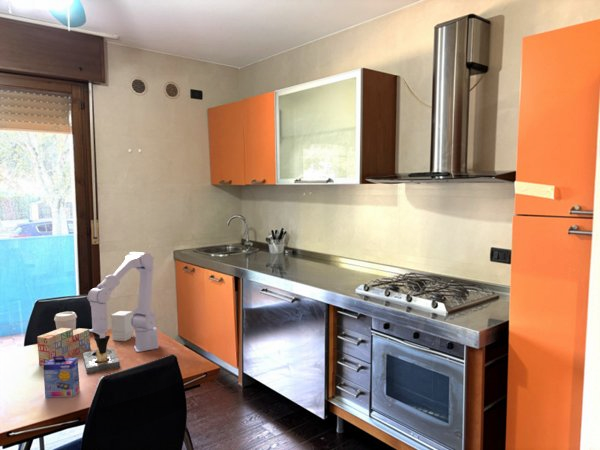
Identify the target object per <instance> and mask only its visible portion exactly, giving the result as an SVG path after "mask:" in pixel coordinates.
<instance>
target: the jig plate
mask: <svg viewBox="0 0 600 450" xmlns="http://www.w3.org/2000/svg"><path fill="white" fill-rule="evenodd" d="M106 349H107V359H108V362H105V363H100V364H99V363H97V355H96V350H91V351H84V352H82V359H83V363H84V367H85V371H86V374H87V375H90V374H94V373H100V372H104V371H109V370H113V369H114V370H115V369H119V368H120V367H121V365H120V363H121V362H120V360H119V357H118V355H117V353H116V351H115V349H114V347H109V348H106Z"/></svg>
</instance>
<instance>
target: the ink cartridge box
mask: <svg viewBox="0 0 600 450" xmlns="http://www.w3.org/2000/svg"><path fill="white" fill-rule="evenodd" d="M53 358H54V359H49V360H48V361H47V362H46V363H44V364H43V365H42V370H43V381H44V382H43V384H44V395H45V396H44V397H45V399H49V398H50V399H51V398H52V399H53V398H73V397H75V395H77V394H78V393H79V392H80V391H81V387H80V375H79V373H80V372H79V361H78V360H79V359H78V357H71V358H66V359H65V358H64V356H53ZM56 358H59V359H56ZM61 358H63V359H61Z"/></svg>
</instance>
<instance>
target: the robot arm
mask: <svg viewBox="0 0 600 450" xmlns="http://www.w3.org/2000/svg"><path fill="white" fill-rule="evenodd" d="M153 265H154V257H153V255H152V254H151V253H150V252H148V251H146V252H140V251H130V252H128V254H127V255H125V258H124V261H123V262H122V263H121V264H120V265H119V267H118V268H117V269H116V270H115V271H114V273H113V274H107V275H105V277H104V279H103V280H102V281H101V282H100V283H99V284H98V285H97V286H96V287H94V288H92V289H90V290H89V291H88V294H87V296H86V299H87V300H88V302H89V306H90V309H91V312H90V313H91V325H92V326H91V327H92V328H91V329H90V328H89V333H92V335H93V336H94V337H93V339H94V341H95V342H96V346H97V347H96V348H97V350H98V349H99V353H100V354H103V353H106V349H107V347H108V342H109V340H110V338H111V336H110V335H106V334H107V332H108V330H109V323H108V305H107V304H108V303H107V302H108V301H109V300H110V297H111V295H112V293H113V291H114V290H115V289H116V288H117V287H118V286H119V285H120V280H121V279H122V278H124V276H125V275H126V274H127V273H129V271H130V270H132V269H136V270H137V271H138V272H139V273H140V274H139V285H138V287H139V288H138V299H137V307H136V308H135V309H134V310H133V311H132V312H133V316H132V318H131V325H132V326H133V327H134V338H135V345H134V346H133V348H134V350H135V351H136V353H141V352H145V351H149V350H151V351H152V350H155V349H159V335H158V334H159V333H158V329H157V328H158V327H156V322H157V320H156V315H155V311H154V310H153V309H152V308H151V304H152V292H153V291H152V289H153V279H154V278H153V277H154V266H153Z"/></svg>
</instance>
